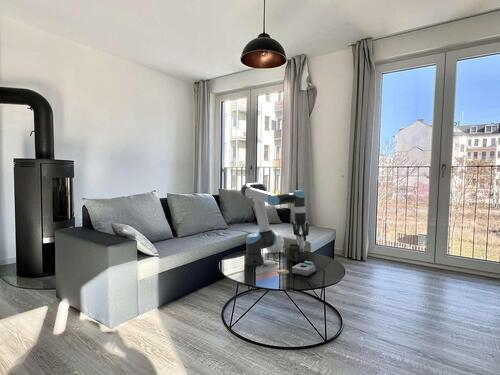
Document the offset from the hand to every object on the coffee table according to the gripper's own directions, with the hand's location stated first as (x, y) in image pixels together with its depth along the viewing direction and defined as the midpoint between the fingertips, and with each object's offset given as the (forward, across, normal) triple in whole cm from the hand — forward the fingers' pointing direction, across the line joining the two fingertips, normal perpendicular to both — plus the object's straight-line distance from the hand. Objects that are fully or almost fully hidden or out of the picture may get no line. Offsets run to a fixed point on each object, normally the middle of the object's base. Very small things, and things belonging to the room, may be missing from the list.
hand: (301, 245), depth 206 cm
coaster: (+19, -11, -8) cm, 24 cm away
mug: (+19, -20, +21) cm, 34 cm away
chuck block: (+19, +1, +2) cm, 19 cm away
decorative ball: (+18, -45, +31) cm, 58 cm away
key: (+5, 0, 0) cm, 5 cm away
